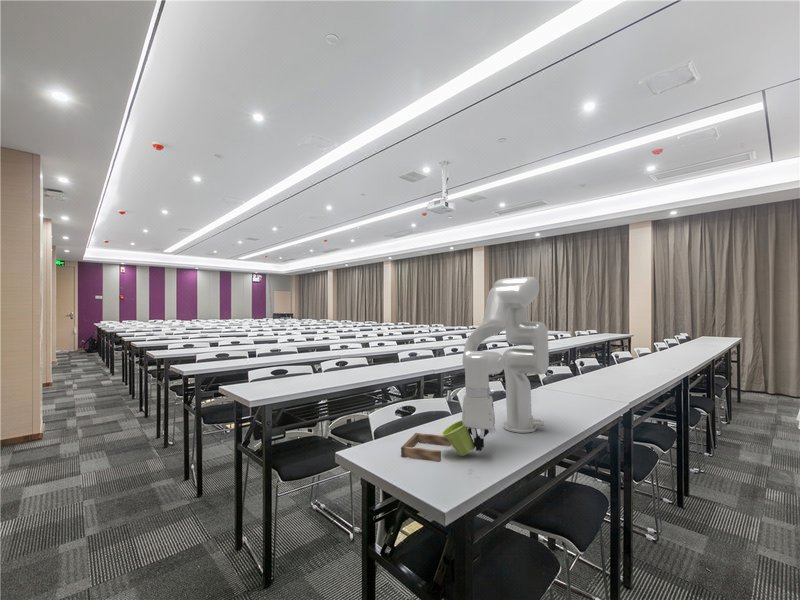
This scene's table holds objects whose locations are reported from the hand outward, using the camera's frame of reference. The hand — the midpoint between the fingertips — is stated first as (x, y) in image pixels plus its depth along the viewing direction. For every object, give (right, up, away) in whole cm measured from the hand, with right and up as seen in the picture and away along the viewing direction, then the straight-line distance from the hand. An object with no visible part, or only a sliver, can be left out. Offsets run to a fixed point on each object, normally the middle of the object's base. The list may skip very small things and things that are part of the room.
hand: (479, 449), depth 117 cm
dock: (-16, -3, +7) cm, 18 cm away
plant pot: (-3, -2, +2) cm, 4 cm away
